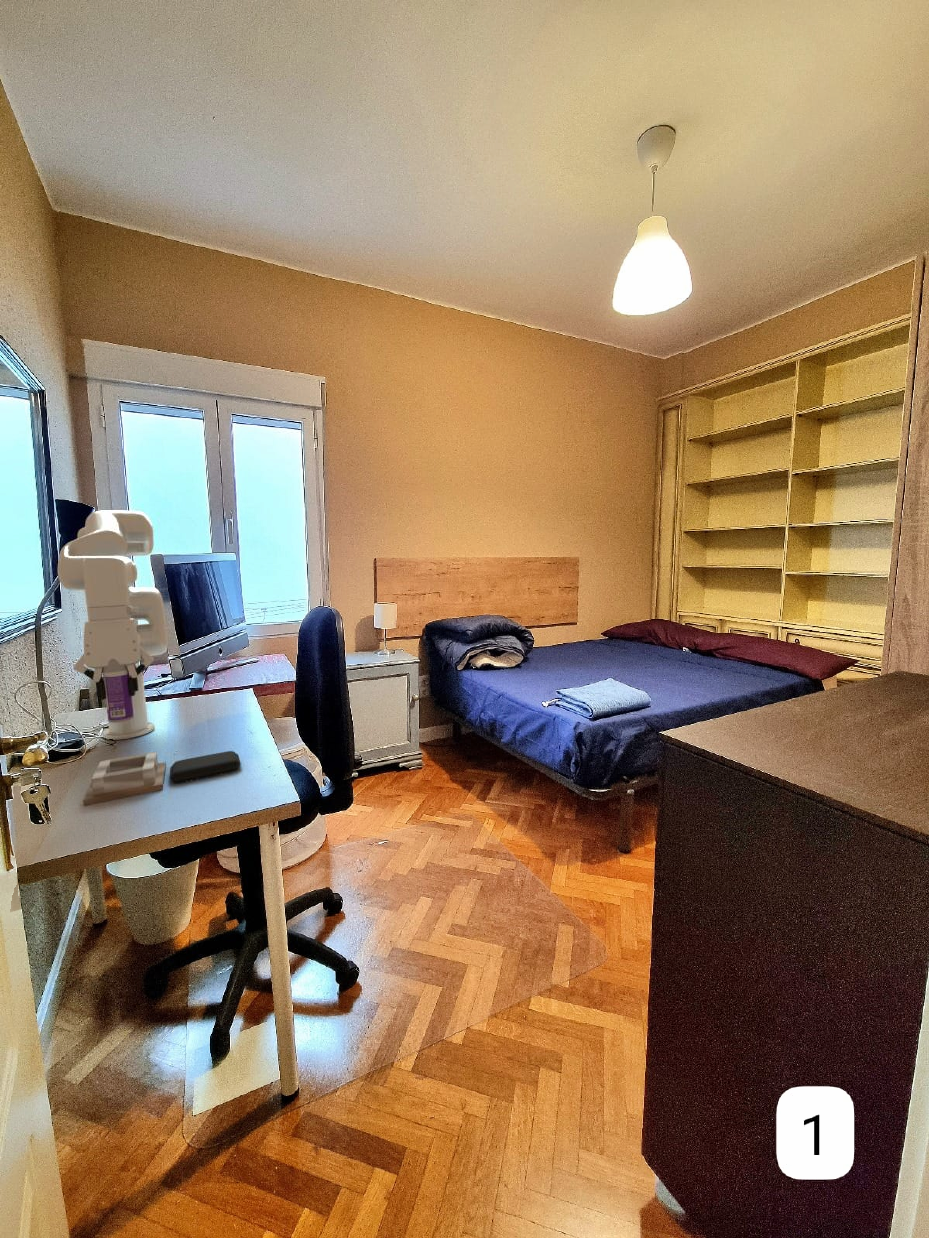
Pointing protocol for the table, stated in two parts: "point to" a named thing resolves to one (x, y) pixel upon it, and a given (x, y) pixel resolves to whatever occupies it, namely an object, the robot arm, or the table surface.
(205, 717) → the table surface
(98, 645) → the robot arm
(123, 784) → the mount
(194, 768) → the carrying case or bag
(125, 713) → the container
